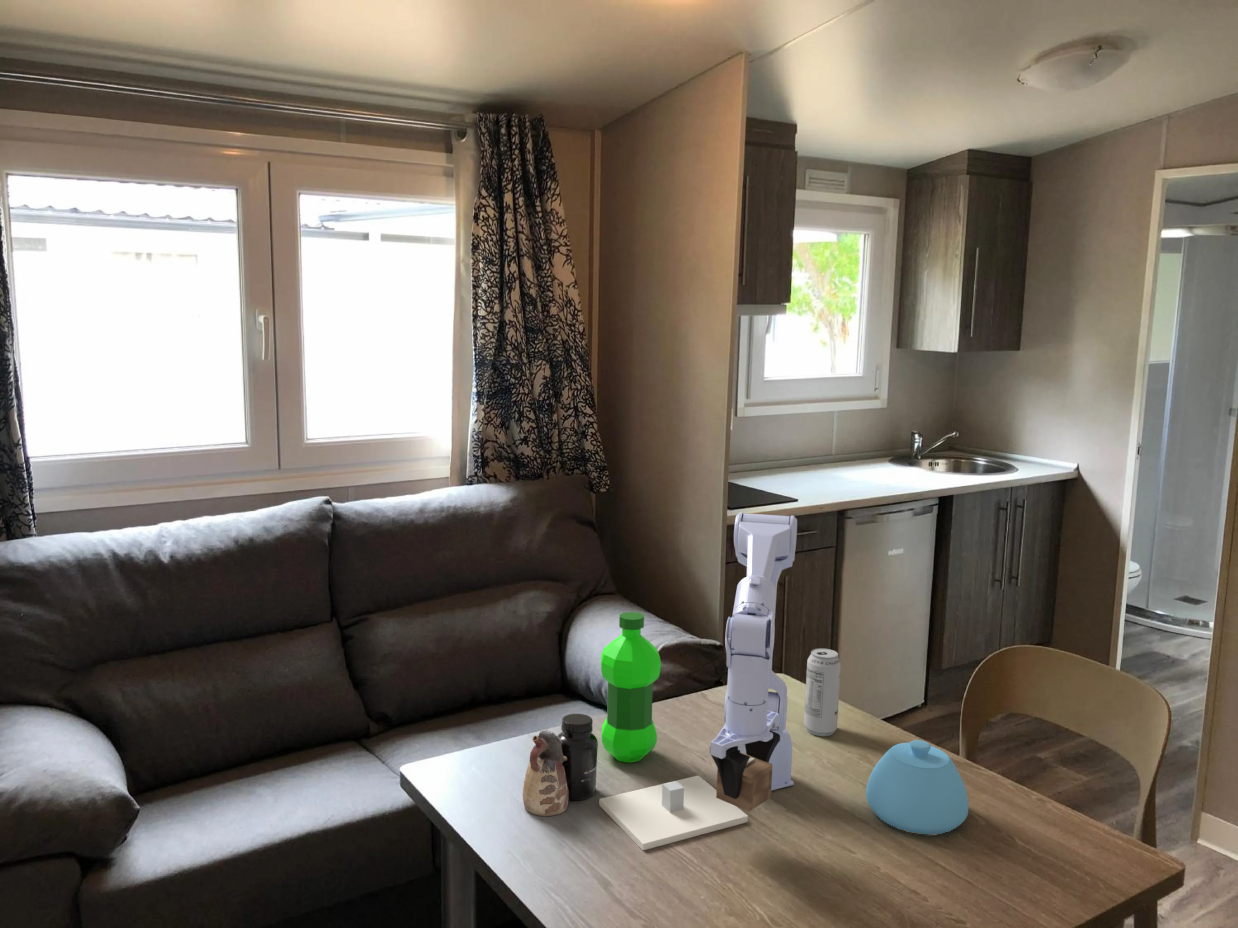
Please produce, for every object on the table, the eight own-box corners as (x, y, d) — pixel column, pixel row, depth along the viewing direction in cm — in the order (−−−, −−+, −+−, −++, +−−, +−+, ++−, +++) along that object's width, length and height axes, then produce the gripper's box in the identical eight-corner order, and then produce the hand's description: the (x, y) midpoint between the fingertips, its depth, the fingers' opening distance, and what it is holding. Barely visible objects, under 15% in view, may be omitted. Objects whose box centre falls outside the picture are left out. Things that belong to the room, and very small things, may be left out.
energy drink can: (842, 736, 171) (847, 657, 169) (811, 738, 170) (816, 659, 167) (828, 722, 177) (832, 646, 175) (798, 724, 176) (802, 648, 173)
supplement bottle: (594, 802, 145) (597, 728, 144) (550, 800, 146) (553, 726, 144) (597, 781, 152) (599, 711, 151) (555, 779, 152) (557, 709, 151)
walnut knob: (738, 783, 138) (739, 749, 137) (770, 796, 134) (772, 762, 134) (716, 797, 134) (717, 762, 133) (749, 811, 130) (750, 775, 129)
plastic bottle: (655, 741, 167) (658, 606, 163) (659, 769, 157) (663, 625, 153) (599, 741, 167) (601, 606, 163) (599, 769, 156) (602, 625, 153)
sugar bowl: (983, 814, 145) (989, 743, 143) (941, 852, 134) (946, 776, 132) (893, 780, 155) (897, 714, 153) (847, 813, 144) (851, 742, 142)
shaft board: (698, 781, 153) (698, 755, 152) (747, 821, 141) (748, 793, 140) (599, 804, 145) (599, 777, 144) (642, 850, 132) (643, 820, 132)
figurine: (578, 805, 144) (579, 732, 142) (541, 821, 140) (542, 746, 138) (550, 788, 149) (550, 717, 148) (513, 802, 145) (513, 729, 143)
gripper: (742, 721, 124) (738, 816, 126) (798, 690, 135) (794, 779, 137) (699, 706, 129) (696, 798, 131) (757, 677, 139) (753, 763, 141)
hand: (743, 787), depth 134 cm, fingers closed on walnut knob, 6 cm apart
